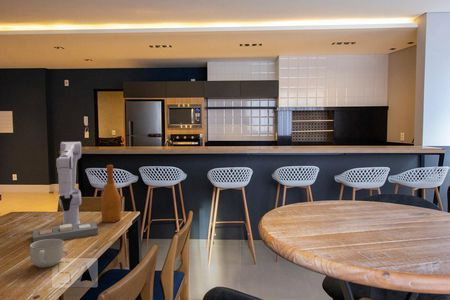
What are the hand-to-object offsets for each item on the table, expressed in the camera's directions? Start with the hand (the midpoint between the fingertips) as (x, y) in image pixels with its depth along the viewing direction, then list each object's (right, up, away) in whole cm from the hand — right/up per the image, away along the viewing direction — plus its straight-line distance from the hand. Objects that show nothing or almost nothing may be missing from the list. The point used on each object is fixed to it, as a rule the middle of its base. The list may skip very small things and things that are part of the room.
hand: (66, 210), depth 151 cm
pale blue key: (+8, -9, 0) cm, 13 cm away
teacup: (+11, -13, -36) cm, 40 cm away
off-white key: (+2, -8, -4) cm, 9 cm away
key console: (+2, -11, -4) cm, 11 cm away
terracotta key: (-5, -10, -8) cm, 14 cm away
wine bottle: (+14, -9, +20) cm, 26 cm away
